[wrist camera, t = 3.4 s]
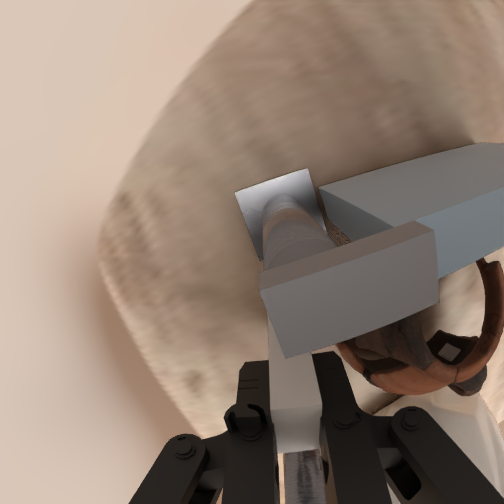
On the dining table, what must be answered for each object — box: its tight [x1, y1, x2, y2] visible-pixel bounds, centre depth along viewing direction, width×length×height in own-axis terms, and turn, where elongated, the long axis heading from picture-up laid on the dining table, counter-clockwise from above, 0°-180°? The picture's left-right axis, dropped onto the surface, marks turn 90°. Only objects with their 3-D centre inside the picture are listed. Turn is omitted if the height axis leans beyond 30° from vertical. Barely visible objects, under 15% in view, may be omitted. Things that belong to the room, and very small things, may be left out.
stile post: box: [283, 448, 326, 504], centre depth 13 cm, size 4×4×10 cm
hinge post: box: [235, 168, 338, 271], centre depth 10 cm, size 4×4×8 cm
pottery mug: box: [336, 257, 504, 396], centre depth 13 cm, size 12×10×8 cm
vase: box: [373, 386, 504, 504], centre depth 12 cm, size 14×14×15 cm
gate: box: [259, 143, 504, 359], centre depth 8 cm, size 14×2×9 cm, turn 110°
